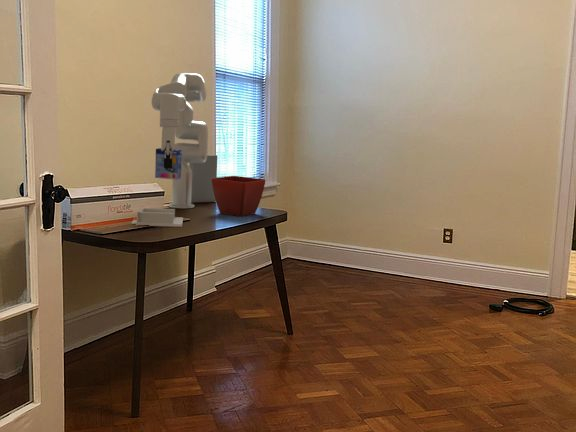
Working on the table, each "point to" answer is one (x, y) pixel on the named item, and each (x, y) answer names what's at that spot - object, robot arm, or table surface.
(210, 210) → the table surface
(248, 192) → the plant pot
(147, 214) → the end holder
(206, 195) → the grey slab
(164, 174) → the ink cartridge box
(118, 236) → the table surface
